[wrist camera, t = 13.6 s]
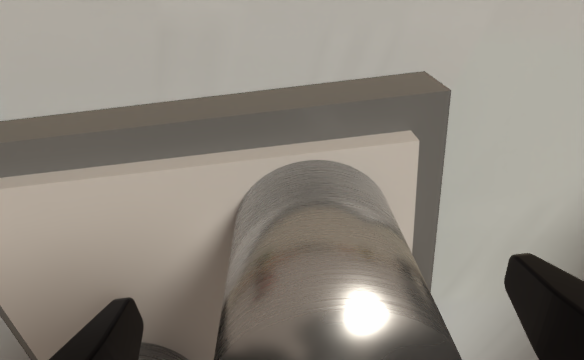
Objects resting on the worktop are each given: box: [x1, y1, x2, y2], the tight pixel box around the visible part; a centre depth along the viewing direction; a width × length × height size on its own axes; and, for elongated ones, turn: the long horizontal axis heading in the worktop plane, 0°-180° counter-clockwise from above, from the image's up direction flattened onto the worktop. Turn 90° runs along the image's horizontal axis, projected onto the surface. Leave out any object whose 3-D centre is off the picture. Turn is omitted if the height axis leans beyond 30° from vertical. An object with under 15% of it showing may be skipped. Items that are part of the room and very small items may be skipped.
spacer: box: [214, 160, 462, 360], centre depth 9 cm, size 4×4×5 cm
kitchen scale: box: [0, 71, 451, 360], centre depth 14 cm, size 15×15×3 cm
